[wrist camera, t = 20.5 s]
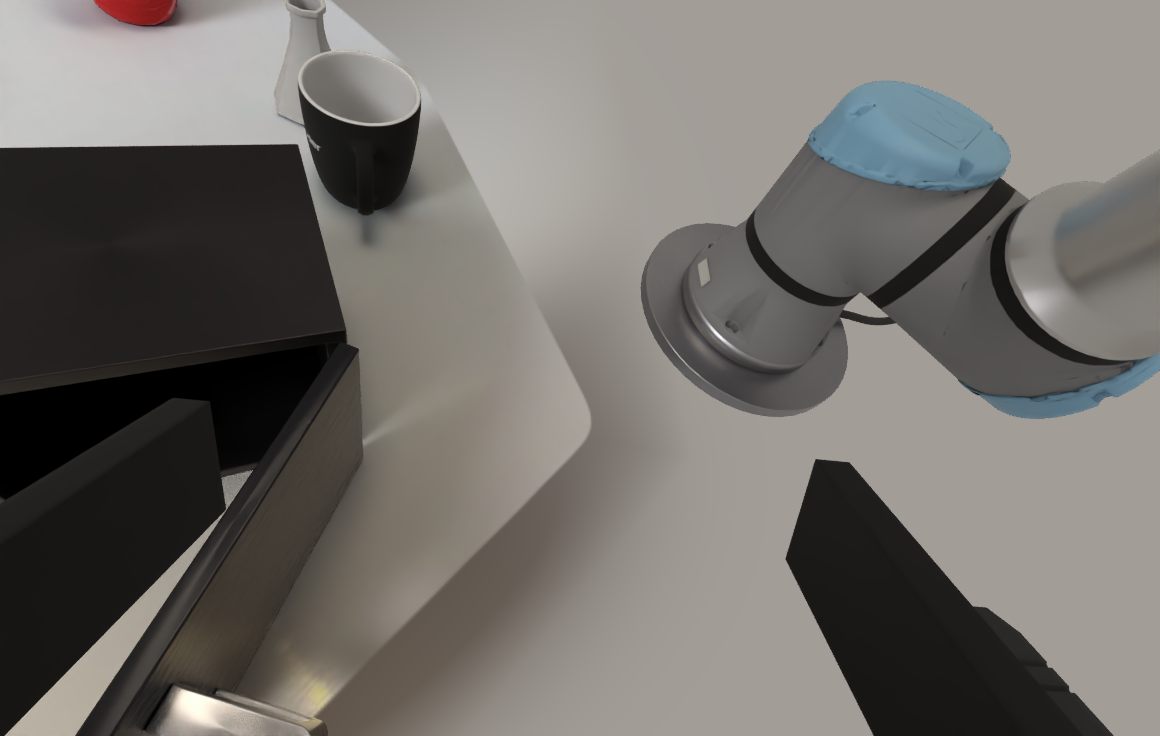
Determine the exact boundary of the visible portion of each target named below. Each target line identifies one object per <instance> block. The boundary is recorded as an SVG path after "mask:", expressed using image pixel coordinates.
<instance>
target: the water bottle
mask: <svg viewBox="0 0 1160 736" xmlns="http://www.w3.org/2000/svg"><path fill="white" fill-rule="evenodd" d="M94 2H95V3H96V4H97V5H98V7H99V8H101V9H102V10H103V11H105V12H106V13H108V14H109V15H111V16H112V17H114V18H116V19H117V20H119V21H123V22H127V23H131V24H135V25H157V24H159V23H162V22H164V21H167V20H169V19H170V17H171V15H172V14H173V12H174V10H175V9H176V7H177V0H94Z"/></svg>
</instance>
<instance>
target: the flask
mask: <svg viewBox="0 0 1160 736" xmlns="http://www.w3.org/2000/svg"><path fill="white" fill-rule="evenodd" d="M285 4H286V8H287V10H288V11H290V19H291V23H290V37H289V43H288V46H287V50H286V54H285V58H284V62H283V65H282V68H281V72H280V75H279V78H278V81H277V84H276V88H275V91H274V95H275V102H276V108H277V113H278V114H280V115H282V116H285V117H287V118H289V119H291V120H293V121H295V122H297V123H300V124H302V125H304V121H303V116H302V111H301V105H300V99H299V92H298V74H299V71H300V69H301V67H302V66H303V64H304V63H305V62H306V61H308V60H309V59H310V58H312V57H314V56H316V55H318V54H321V53H324V52H329V51H331V49H330V47H329V45H328V42H327V39H326V35H325V31H324V24H323V14H324V13H325V12H326V6H325V1H324V0H285Z"/></svg>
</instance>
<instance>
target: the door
mask: <svg viewBox="0 0 1160 736" xmlns="http://www.w3.org/2000/svg"><path fill="white" fill-rule="evenodd" d="M362 459H363V440H362V415H361V391H360V366H359V349H358V348H355V347H353V346H350V345H348V344H345V343H343V342H339V344H338V345H337V347H336V348H335V350H334V351H333V353H332V354H331V356H330V357H329V359H328V360H327V361H326V363H325V364H324V366H323V367H322V369H321V370H320V372H319V373H318V375H317V376H316V378H315V379H314V381H313V382H312V384H311V385H310V387H309V388H308V390H307V391H306V393H305V394H304V396H303V397H302V399H301V400H300V402H299V403H298V405H297V406H296V408H295V409H294V411H293V412H292V414H291V415H290V417H289V418H288V420H287V421H286V423H285V424H284V426H283V427H282V429H281V430H280V431H279V433H278V434H277V436H276V437H275V439H274V440H273V442H272V443H271V445H270V446H269V448H268V449H267V451H266V452H265V454H264V455H263V457H262V458H261V460H260V461H259V463H258V464H257V466H256V467H255V469H254V470H253V472H252V473H251V475H250V476H249V478H248V479H247V481H246V482H245V484H244V485H243V487H242V488H241V490H240V491H239V493H238V494H237V496H236V497H235V498H234V500H233V501H232V503H231V504H230V506H229V507H228V509H227V510H226V512H225V513H224V515H223V516H222V518H221V519H220V521H219V522H218V524H217V525H216V527H215V528H214V530H213V531H212V533H211V534H210V536H209V537H208V539H207V540H206V542H205V543H204V545H203V546H202V548H201V549H200V551H199V552H198V554H197V555H196V557H195V558H194V560H193V561H192V563H191V564H190V566H189V567H188V568H187V570H186V571H185V573H184V574H183V576H182V577H181V579H180V580H179V582H178V583H177V585H176V586H175V588H174V589H173V591H172V592H171V594H170V595H169V597H168V598H167V600H166V601H165V603H164V604H163V606H162V607H161V609H160V610H159V612H158V613H157V615H156V616H155V618H154V619H153V621H152V622H151V624H150V625H149V627H148V628H147V630H146V631H145V633H144V634H143V636H142V637H141V638H140V640H139V641H138V643H137V644H136V646H135V647H134V649H133V650H132V652H131V653H130V655H129V656H128V658H127V659H126V661H125V662H124V664H123V665H122V667H121V668H120V670H119V671H118V673H117V674H116V676H115V677H114V679H113V680H112V682H111V683H110V685H109V686H108V688H107V689H106V691H105V692H104V694H103V695H102V697H101V698H100V700H99V701H98V703H97V704H96V705H95V707H94V708H93V710H92V711H91V713H90V714H89V716H88V717H87V719H86V720H85V722H84V723H83V725H82V726H81V728H80V729H79V731H78V732H77V734H76V735H75V736H328V730H327V727H326V725H325V723H324V722H322V721H321V720H319V719H316V718H313V717H309V716H306V715H303V714H300V713H297V712H294V711H291V710H288V709H285V708H282V707H279V706H276V705H273V704H270V703H267V702H264V701H261V700H258V699H255V698H252V697H249V696H246V695H243V694H240V693H236V692H234V691H235V689H236V687H237V685H238V684H239V682H240V680H241V678H242V676H243V674H244V673H245V671H246V669H247V667H248V665H249V664H250V662H251V660H252V658H253V656H254V655H255V653H256V651H257V649H258V647H259V646H260V644H261V642H262V640H263V638H264V637H265V635H266V633H267V631H268V629H269V627H270V626H271V624H272V622H273V620H274V618H275V617H276V615H277V613H278V611H279V609H280V608H281V606H282V604H283V602H284V600H285V599H286V597H287V595H288V593H289V591H290V590H291V588H292V586H293V584H294V582H295V580H296V579H297V577H298V575H299V573H300V571H301V570H302V568H303V566H304V564H305V562H306V561H307V559H308V557H309V555H310V553H311V552H312V550H313V548H314V546H315V544H316V543H317V541H318V539H319V537H320V535H321V533H322V532H323V530H324V528H325V526H326V524H327V523H328V521H329V519H330V517H331V515H332V514H333V512H334V510H335V508H336V506H337V505H338V503H339V501H340V499H341V497H342V495H343V494H344V492H345V490H346V488H347V486H348V485H349V483H350V481H351V479H352V477H353V476H354V474H355V472H356V470H357V468H358V467H359V465H360V463H361V461H362Z"/></svg>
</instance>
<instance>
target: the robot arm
mask: <svg viewBox="0 0 1160 736" xmlns="http://www.w3.org/2000/svg"><path fill="white" fill-rule="evenodd" d="M1010 157H1011V154H1010V149H1009V146H1008V145H1007V143H1006V142H1005V140H1004V139H1003V137H1002V136H1001V135H999V134H997V133H996V132H994V131H993V127H992V125H991V124H990V123H988V122H987V121H986V120H984V119H983V118H982V117H981V116H979V115H978V114H976V113H975V112H973V111H972V110H970V109H969V108H967V107H966V106H964V105H962V104H960V103H959V102H957V101H955V100H953V99H951V98H948V97H946V96H944V95H942V94H940V93H937V92H934V91H932V90H929V89H927V88H923V87H920V86H917V85H913V84H908V83H903V82H897V81H876V82H871V83H866V84H864V85H861V86H859V87H857V88H855V89H854V90H852V91H851V92H849V93H848V94H847V95H846V96H845V97H844V98H843V99H842V100H841V101H840V102H839V103H838V105H837V106H836V107H835V108H834V109H833V111H831V113H830V114H829V115H828V116H827V117H826V118H825V120H824V121H823V122H822V123H821V124H820V125H818V126H816V127H815V128H814V129H813V130H812V132H811V133H810V135H809V138H808V141H807V142H806V143H805V145H804V146H803V147H802V149H801V150H800V151H799V153H798V154H797V155H796V157H795V158H794V159H793V161H792V162H791V163H790V164H789V166H788V167H787V168H786V170H785V171H784V172H783V174H782V175H781V176H780V178H779V179H778V180H777V181H776V183H775V184H774V185H773V187H772V188H771V189H770V191H769V192H768V193H767V195H766V196H765V197H764V199H763V200H762V201H761V202H760V204H759V205H758V206H757V208H756V209H755V210H754V211H753V213H752V214H751V215H750V217H749V218H748V219H747V220H746V221H744V222H743V223H741V224H740V225H738V226H737V227H735V228H734V229H732V230H731V231H730V232H729V233H727V234H726V235H725V236H724V237H723V238H720V239H717V240H715V241H713V242H711V243H710V244H708V245H707V246H706V247H704V248H703V249H702V250H701V251H700V252H699V253H698V254H697V255H696V257H695V258H694V259H693V261H692V262H691V264H690V265H689V266H688V268H687V270H686V272H685V275H684V279H683V297H684V302H685V305H686V308H687V311H688V313H689V315H690V317H691V319H692V321H693V323H694V324H695V326H696V327H697V329H698V330H699V332H700V333H701V334H702V335H703V337H704V338H705V339H706V340H707V341H708V342H709V343H710V344H711V345H712V346H713V347H714V348H715V349H716V350H718V351H719V352H720V353H721V354H723V355H724V356H726V357H727V358H729V359H730V360H732V361H734V362H735V363H737V364H739V365H741V366H744V367H746V368H748V369H751V370H754V371H758V372H762V373H769V374H782V373H788V372H791V371H794V370H796V369H798V368H800V367H801V366H803V365H804V364H805V363H807V362H808V361H809V360H810V359H812V358H813V357H814V356H815V355H816V354H817V353H818V352H819V351H820V349H821V348H822V346H823V345H824V343H825V341H826V339H827V337H828V334H829V330H830V329H831V328H832V327H833V325H834V324H835V323H836V321H837V319H838V318H839V317H841V318H845V319H850V320H853V321H856V322H860V323H864V324H869V325H888V324H894V323H897V324H898V325H899V326H900V327H901V328H902V329H903V330H905V331H906V332H907V333H908V334H909V335H910V336H911V337H912V338H913V339H914V340H916V341H917V342H918V343H919V344H920V345H921V346H922V347H923V348H925V349H926V350H927V351H928V352H929V353H930V354H931V355H932V356H933V357H934V358H935V359H937V360H938V361H939V362H940V363H941V364H942V365H943V366H944V367H945V368H946V369H947V370H949V371H950V372H951V373H952V374H953V375H954V376H955V377H956V378H957V379H958V381H959V382H960V383H961V384H962V385H963V386H964V387H965V388H967V389H968V390H970V391H971V392H973V393H975V394H977V395H980V396H981V397H982V398H983V399H985V400H986V401H987V402H988V403H990V404H991V405H992V406H994V407H995V408H997V409H998V410H1000V411H1002V412H1004V413H1007V414H1009V415H1012V416H1016V417H1021V418H1031V419H1044V418H1054V417H1060V416H1066V415H1070V414H1074V413H1078V412H1081V411H1084V410H1087V409H1090V408H1093V407H1096V406H1098V405H1099V403H1100V401H1101V400H1103V399H1104V398H1105V397H1110V396H1113V397H1119V396H1121V395H1123V394H1125V393H1127V392H1128V391H1130V390H1132V389H1134V388H1136V387H1137V386H1139V385H1140V384H1142V383H1143V382H1145V381H1146V380H1148V379H1149V378H1150V377H1152V376H1153V375H1154V374H1155V373H1157V372H1158V371H1160V150H1158V151H1156V152H1155V153H1153V154H1151V155H1150V156H1148V157H1146V158H1145V159H1143V160H1141V161H1140V162H1138V163H1136V164H1135V165H1133V166H1132V167H1130V168H1128V169H1127V170H1125V171H1124V172H1122V173H1120V174H1118V175H1117V176H1115V177H1113V178H1112V179H1110V180H1109V181H1107V182H1105V183H1099V182H1088V181H1083V182H1072V183H1066V184H1062V185H1059V186H1055V187H1052V188H1050V189H1048V190H1046V191H1044V192H1042V193H1041V194H1039V195H1037V196H1035V197H1034V198H1033V199H1031V200H1028V199H1027V198H1026V197H1025V196H1023V195H1022V194H1021V193H1019V192H1018V191H1017V190H1015V189H1014V188H1012V187H1011V186H1010V185H1009V184H1007V183H1006V182H1005V181H1004V180H1002V179H1001V178H1000V177H1002V175H1004V173H1005V171H1006V167H1007V166H1008V164H1009V162H1010ZM860 292H861V293H863V295H865V296H866V297H867V298H868V299H869V300H871V301H872V302H873V303H874V304H875V305H876V306H877V307H878V308H880V309H881V310H882V311H883V312H885V313H886V314H887V315H888V316H889V317H885V318H874V317H867V316H863V315H860V314H857V313H853V312H849V311H845V310H843V309H844V307H845V305H846V304H847V303H848V302H849V301H850V300H851V299H853V298H854V297H855V296H856V295H857V294H858V293H860ZM225 510H226V506H225V499H224V493H223V486H222V479H221V473H220V466H219V459H218V452H217V446H216V439H215V432H214V426H213V419H212V412H211V406H210V401H201V400H191V399H181V398H172V399H170V400H168V401H167V402H165V403H164V404H162V405H160V406H159V407H157V408H155V409H154V410H152V411H150V412H149V413H147V414H146V415H144V416H142V417H141V418H139V419H137V420H136V421H134V422H133V423H131V424H129V425H128V426H126V427H124V428H123V429H121V430H119V431H118V432H116V433H115V434H113V435H111V436H110V437H108V438H106V439H105V440H103V441H101V442H100V443H98V444H97V445H95V446H93V447H92V448H90V449H88V450H87V451H85V452H84V453H82V454H80V455H79V456H77V457H75V458H74V459H72V460H70V461H69V462H67V463H66V464H64V465H62V466H61V467H59V468H57V469H56V470H54V471H53V472H51V473H49V474H48V475H46V476H44V477H43V478H41V479H39V480H38V481H36V482H35V483H33V484H31V485H30V486H28V487H26V488H25V489H23V490H21V491H20V492H18V493H17V494H15V495H13V496H12V497H10V498H8V499H7V500H5V501H4V502H2V503H0V736H5V735H6V734H7V733H8V732H9V730H10V729H11V728H12V727H13V726H14V725H15V724H16V723H17V722H18V721H19V720H20V719H21V718H22V717H23V716H24V715H25V714H26V713H27V712H28V711H29V710H30V709H31V708H32V707H33V706H34V705H35V704H36V703H37V702H38V701H39V700H40V699H41V698H42V697H43V696H44V695H45V694H46V693H47V692H48V691H49V690H50V689H51V688H52V687H53V686H54V685H55V684H56V683H57V682H58V681H59V679H60V678H61V677H62V676H63V675H64V674H65V673H66V672H67V671H68V670H69V669H70V668H71V667H72V666H73V665H74V664H75V663H76V662H77V661H78V660H79V659H80V658H81V657H82V656H83V655H84V654H85V653H86V652H87V651H88V650H89V649H90V648H91V647H92V646H93V645H94V644H95V643H96V642H97V641H98V640H99V639H100V638H101V637H102V636H103V635H104V634H105V633H106V632H107V631H108V630H109V628H110V627H111V626H112V625H113V624H114V623H115V622H116V621H117V620H118V619H119V618H120V617H121V616H122V615H123V614H124V613H125V612H126V611H127V610H128V609H129V608H130V607H131V606H132V605H133V604H134V603H135V602H136V601H137V600H138V599H139V598H140V597H141V596H142V595H143V594H144V593H145V592H146V591H147V590H148V589H149V588H150V587H151V586H152V585H153V584H154V583H155V582H156V581H157V580H158V579H159V577H160V576H161V575H162V574H163V573H164V572H165V571H166V570H167V569H168V568H169V567H170V566H171V565H172V564H173V563H174V562H175V561H176V560H177V559H178V558H179V557H180V556H181V555H182V554H183V553H184V552H185V551H186V550H187V549H188V548H189V547H190V546H191V545H192V544H193V543H194V542H195V541H196V540H197V539H198V538H199V537H200V536H201V535H202V534H203V533H204V532H205V531H206V530H207V529H208V528H209V526H210V525H211V524H212V523H213V522H214V521H215V520H216V519H217V518H218V517H219V516H220V515H221V514H222V513H223V512H224V511H225ZM786 561H787V563H788V565H789V567H790V569H791V571H792V573H793V575H794V577H795V579H796V581H797V583H798V585H799V587H800V589H801V591H802V593H803V595H804V597H805V599H806V601H807V603H808V605H809V607H810V609H811V611H812V613H813V615H814V617H815V619H816V621H817V623H818V625H819V627H820V629H821V631H822V633H823V635H824V637H825V639H826V641H827V643H828V645H829V647H830V649H831V651H832V653H833V655H834V657H835V659H836V661H837V663H838V665H839V667H840V669H841V671H842V673H843V675H844V677H845V679H846V681H847V683H848V685H849V687H850V689H851V691H852V693H853V695H854V697H855V699H856V701H857V703H858V705H859V707H860V709H861V711H862V713H863V715H864V717H865V719H866V721H867V723H868V725H869V727H870V729H871V731H872V733H873V735H874V736H1113V735H1112V733H1111V732H1110V731H1109V730H1108V729H1107V728H1106V727H1105V726H1104V725H1103V723H1102V722H1101V721H1100V720H1099V719H1098V718H1097V717H1096V716H1095V715H1094V714H1093V712H1092V711H1091V710H1090V709H1089V708H1088V707H1087V706H1086V705H1085V704H1084V703H1083V702H1082V700H1081V699H1080V698H1079V697H1078V696H1077V695H1076V694H1075V693H1071V692H1070V691H1069V686H1068V685H1067V684H1066V683H1065V682H1064V681H1063V679H1061V677H1060V676H1059V675H1058V674H1057V673H1056V672H1055V671H1054V670H1053V668H1048V667H1047V664H1046V663H1047V662H1046V661H1045V660H1044V659H1043V658H1042V656H1041V655H1040V654H1039V653H1038V652H1037V651H1036V650H1035V649H1034V647H1033V646H1032V645H1031V644H1030V643H1029V642H1028V641H1027V640H1026V639H1025V638H1024V636H1022V634H1021V633H1020V632H1018V631H1017V630H1016V629H1014V628H1013V627H1012V626H1010V625H1009V624H1008V623H1006V622H1005V621H1004V620H1002V619H1001V618H1000V617H998V616H997V615H996V614H994V613H993V612H992V611H990V610H989V609H988V608H985V607H973V606H972V605H971V604H970V603H969V602H968V600H967V599H966V598H965V597H964V596H963V595H962V593H961V592H960V591H959V590H958V589H957V588H956V586H954V584H953V583H952V582H951V581H950V579H949V578H948V577H947V576H946V575H945V574H944V572H943V571H942V570H941V569H940V568H939V567H938V565H937V564H936V563H935V562H934V561H933V560H932V558H931V557H930V556H929V555H928V554H927V553H926V551H925V550H924V549H923V548H922V547H921V545H920V544H919V543H918V542H917V541H916V540H915V539H914V537H913V536H912V535H911V534H910V533H909V532H908V530H907V529H906V528H905V527H904V526H903V524H901V522H900V521H899V520H898V519H897V517H896V516H895V515H894V514H893V513H892V512H891V510H889V508H888V507H887V506H886V505H885V503H884V502H883V501H882V500H881V499H880V498H879V496H878V495H877V494H876V493H875V492H874V491H873V490H872V488H871V487H870V486H869V485H868V484H867V482H866V481H865V480H864V479H863V478H862V477H861V475H860V474H859V473H858V472H857V471H856V470H855V468H854V467H853V466H852V465H851V464H850V463H849V462H839V461H828V460H818V459H816V460H815V463H814V466H813V470H812V473H811V476H810V480H809V483H808V486H807V489H806V493H805V496H804V499H803V503H802V506H801V509H800V513H799V516H798V519H797V523H796V526H795V529H794V532H793V536H792V539H791V542H790V546H789V549H788V552H787V556H786Z"/></svg>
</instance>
